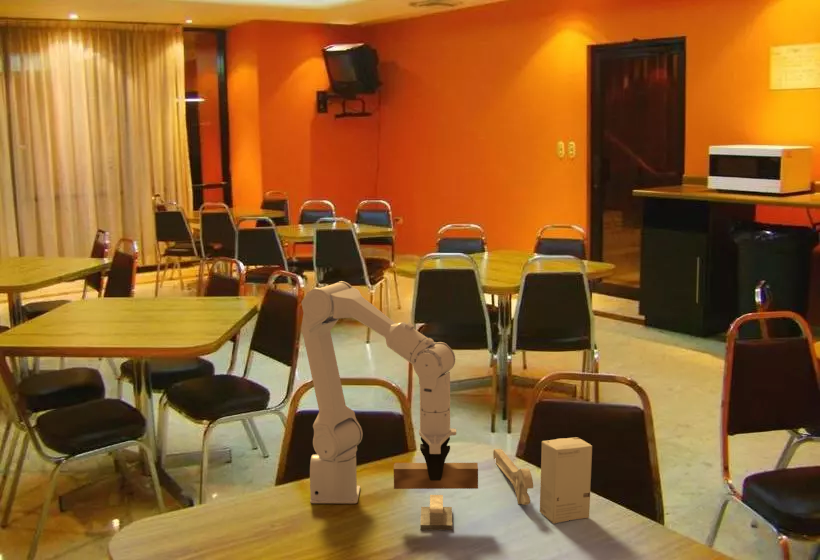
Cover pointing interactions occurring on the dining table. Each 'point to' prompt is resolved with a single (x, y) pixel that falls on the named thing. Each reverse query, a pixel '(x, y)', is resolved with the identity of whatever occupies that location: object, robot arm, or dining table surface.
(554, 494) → the skincare box
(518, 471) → the wrench
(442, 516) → the ridge
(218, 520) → the dining table surface
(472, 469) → the walnut bar
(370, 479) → the dining table surface
